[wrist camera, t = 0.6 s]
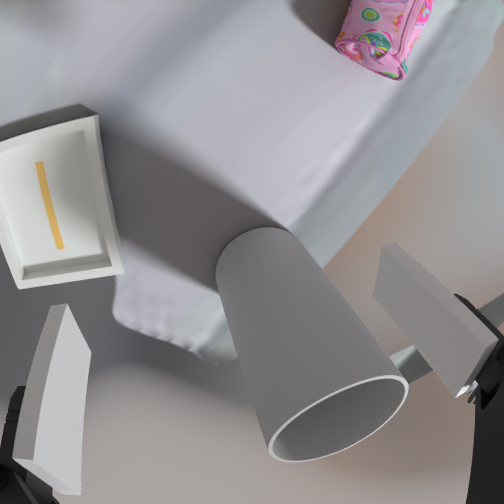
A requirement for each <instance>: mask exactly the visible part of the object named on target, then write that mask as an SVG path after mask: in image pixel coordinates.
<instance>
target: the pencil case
mask: <svg viewBox="0 0 504 504" xmlns="http://www.w3.org/2000/svg"><path fill="white" fill-rule="evenodd" d="M434 1H435V0H352V1H351V4H350V6H349V9H348V12H347V14H346V17H345V20H344V22H343V25H342V28H341V31H340V34H339V36H338V37H337V39H336V41H335V45H336V47H337V49H338V50H339V52H340V53H341V54H342V55H344V56H346V57H348V58H350V59H351V60H353V61H355V62H357V63H358V64H360V65H361V66H363V67H365V68H367V69H369V70H371V71H373V72H375V73H377V74H379V75H382V76H384V77H388V78H390V79H393V80H402V79H404V78H405V77H406V75H407V61H408V57H409V55H410V52H411V49H412V46H413V44H414V42H415V41H416V39H417V38H418V37H419V36H420V34H421V33H422V31H423V29H424V28H425V26H426V24H427V21H428V19H429V16H430V14H431V11H432V8H433V4H434Z"/></svg>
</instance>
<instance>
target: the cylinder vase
mask: <svg viewBox="0 0 504 504" xmlns="http://www.w3.org/2000/svg"><path fill="white" fill-rule="evenodd" d="M215 277H216V283H217V287H218V290H219V294H220V297H221V301H222V304H223V308H224V311H225V315H226V318H227V322H228V325H229V328H230V332H231V335H232V339H233V342H234V345H235V349H236V352H237V355H238V358H239V362H240V365H241V368H242V371H243V374H244V378H245V381H246V384H247V387H248V390H249V394H250V397H251V400H252V403H253V406H254V409H255V412H256V415H257V418H258V421H259V424H260V427H261V430H262V433H263V436H264V439H265V442H266V445H267V448H268V451H269V454H270V455H271V456H272V457H273V458H275V459H277V460H279V461H284V462H305V461H311V460H316V459H320V458H323V457H326V456H330V455H333V454H335V453H338V452H340V451H342V450H345V449H347V448H349V447H351V446H353V445H355V444H357V443H359V442H360V441H362V440H364V439H365V438H367V437H368V436H370V435H371V434H373V433H374V432H375V431H377V430H378V429H379V428H381V427H382V426H383V425H384V424H385V423H386V422H388V420H390V419H391V418H392V417H393V416H394V414H395V413H396V412H397V411H398V409H399V408H400V407H401V406H402V404H403V402H404V401H405V399H406V396H407V394H408V383H407V381H406V380H405V378H404V377H403V376H402V374H401V373H400V371H399V370H398V369H397V367H396V366H395V365H394V363H393V362H392V360H391V359H390V358H389V356H388V355H387V354H386V352H385V351H384V350H383V348H382V347H381V346H380V344H379V343H378V342H377V340H376V339H375V337H374V336H373V335H372V333H371V332H370V331H369V330H368V328H367V327H366V326H365V324H364V323H363V322H362V320H361V319H360V318H359V316H358V315H357V314H356V312H355V311H354V310H353V308H352V307H351V306H350V304H349V303H348V302H347V301H346V299H345V298H344V297H343V295H342V294H341V293H340V292H339V290H338V289H337V288H336V286H335V285H334V284H333V283H332V281H331V280H330V279H329V277H328V276H327V275H326V274H325V272H324V271H323V270H322V269H321V267H320V266H319V265H318V264H317V262H316V261H315V260H314V259H313V257H312V256H311V255H310V254H309V252H308V251H307V250H306V249H305V247H304V246H303V245H302V244H301V242H300V241H299V240H298V239H297V238H296V237H295V236H294V235H292V234H291V233H289V232H287V231H285V230H282V229H279V228H273V227H263V228H257V229H253V230H250V231H247V232H245V233H243V234H241V235H239V236H238V237H236V238H235V239H234V240H232V241H231V242H230V243H229V244H228V245H227V246H226V248H225V249H224V250H223V252H222V253H221V255H220V257H219V259H218V262H217V266H216V273H215Z"/></svg>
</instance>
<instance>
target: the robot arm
mask: <svg viewBox="0 0 504 504" xmlns="http://www.w3.org/2000/svg"><path fill="white" fill-rule="evenodd" d="M373 297H374V298H375V299H376V300H377V302H378V303H379V304H380V305H381V306H382V307H383V309H384V310H385V311H386V312H387V313H388V315H389V316H390V317H391V318H392V319H393V320H394V322H395V323H396V324H397V325H398V326H399V328H400V329H401V330H402V331H403V332H404V334H405V335H406V336H407V337H408V339H409V340H410V341H411V342H412V344H413V345H414V346H415V347H416V349H417V350H418V351H419V352H420V354H421V355H422V356H423V357H424V359H425V360H426V361H427V362H428V364H429V365H430V366H431V367H432V369H433V370H434V371H435V373H436V374H437V375H438V376H439V378H440V379H441V380H442V382H443V383H444V384H445V386H446V387H447V388H448V389H449V391H450V392H451V393H452V395H453V396H454V397H455V398H456V397H458V396H459V395H461V394H462V393H464V392H466V391H467V390H469V388H470V387H471V385H472V384H473V382H474V380H475V381H476V382H477V383H478V386H477V387H476V388H475V390H474V391H473V393H472V394H471V396H470V397H469V399H468V403H470V402H471V401H472V400H473V398H474V397H475V396H476V399H475V401H474V402H473V404H475V407H476V408H475V431H474V446H473V456H472V466H471V474H470V481H469V488H468V494H467V499H466V504H504V336H503V334H501V332H500V331H499V330H498V329H497V328H496V327H495V326H494V325H493V324H492V323H491V322H490V321H489V320H488V319H487V318H486V317H485V316H484V315H481V313H480V312H479V311H478V310H477V309H475V307H474V306H473V305H472V304H471V303H470V302H469V301H468V300H467V299H465V298H463V297H461V296H460V295H458V294H452V293H451V292H450V291H449V290H448V289H447V288H446V287H445V286H444V285H443V284H442V283H441V282H439V281H438V280H437V279H436V278H435V277H434V276H433V275H432V274H431V273H430V272H428V271H427V270H426V269H425V268H424V267H423V266H422V265H420V264H419V263H418V262H417V261H416V260H415V259H413V258H412V257H411V256H410V255H409V254H408V253H407V252H405V251H404V250H403V249H402V248H400V247H399V246H398V245H397V244H396V243H394V244H389V245H385V246H382V249H381V255H380V261H379V266H378V272H377V278H376V282H375V288H374V293H373ZM90 358H91V351H90V349H89V347H88V345H87V343H86V342H85V340H84V338H83V336H82V334H81V332H80V330H79V328H78V326H77V323H76V321H75V319H74V318H73V315H72V313H71V311H70V309H69V306H68V304H61V305H55V306H51V308H50V311H49V313H48V316H47V319H46V322H45V325H44V328H43V331H42V334H41V337H40V340H39V343H38V346H37V349H36V353H35V356H34V360H33V363H32V366H31V370H30V374H29V378H28V381H27V385H26V386H18V387H17V389H16V390H15V392H14V394H13V395H12V397H11V399H10V404H9V408H8V413H7V416H6V423H5V425H4V431H3V435H2V441H1V446H0V504H59V502H58V501H57V500H56V499H55V498H54V497H53V496H52V488H53V489H55V490H56V491H58V492H59V493H61V494H70V495H81V456H82V434H83V420H84V408H85V398H86V388H87V380H88V372H89V365H90Z"/></svg>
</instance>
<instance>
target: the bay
mask: <svg viewBox="0 0 504 504" xmlns="http://www.w3.org/2000/svg"><path fill="white" fill-rule="evenodd" d="M0 244H1V247H2V250H3V253H4V255H5V258H6V261H7V263H8V266H9V268H10V271H11V273H12V276H13V278H14V280H15V283H16V285H17V287H18V289H24V288H31V287H37V286H44V285H51V284H57V283H63V282H71V281H77V280H84V279H91V278H97V277H104V276H110V275H117V274H124V271H125V265H126V261H125V257H124V253H123V249H122V245H121V241H120V236H119V232H118V228H117V223H116V218H115V214H114V209H113V204H112V199H111V194H110V188H109V183H108V177H107V171H106V165H105V159H104V152H103V146H102V138H101V131H100V123H99V114H96V115H92V116H87V117H83V118H79V119H74V120H70V121H66V122H62V123H58V124H55V125H51V126H47V127H44V128H40V129H37V130H33V131H30V132H27V133H24V134H20V135H17V136H14V137H11V138H8V139H5V140H2V141H0Z"/></svg>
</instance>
